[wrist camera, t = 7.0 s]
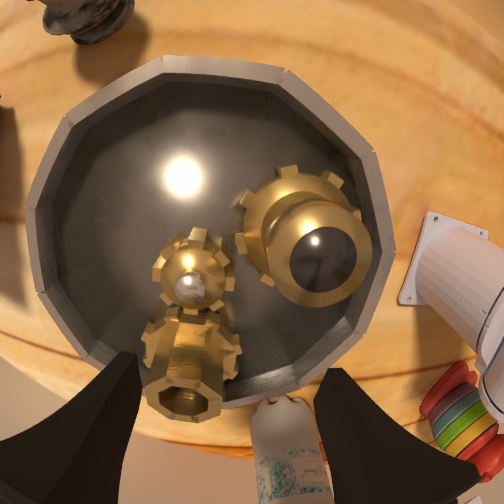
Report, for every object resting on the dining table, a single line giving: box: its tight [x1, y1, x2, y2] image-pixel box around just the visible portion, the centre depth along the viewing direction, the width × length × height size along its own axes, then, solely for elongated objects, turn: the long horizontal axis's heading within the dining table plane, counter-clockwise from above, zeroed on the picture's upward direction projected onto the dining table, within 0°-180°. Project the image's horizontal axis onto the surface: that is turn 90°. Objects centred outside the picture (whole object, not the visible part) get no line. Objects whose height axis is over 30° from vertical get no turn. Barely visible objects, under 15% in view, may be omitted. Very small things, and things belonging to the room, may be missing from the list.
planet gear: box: [141, 306, 242, 423], centre depth 17 cm, size 7×7×5 cm
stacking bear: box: [420, 361, 504, 483], centre depth 20 cm, size 11×10×18 cm
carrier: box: [25, 56, 396, 409], centre depth 15 cm, size 24×24×7 cm
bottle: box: [250, 395, 335, 504], centre depth 15 cm, size 7×7×20 cm
